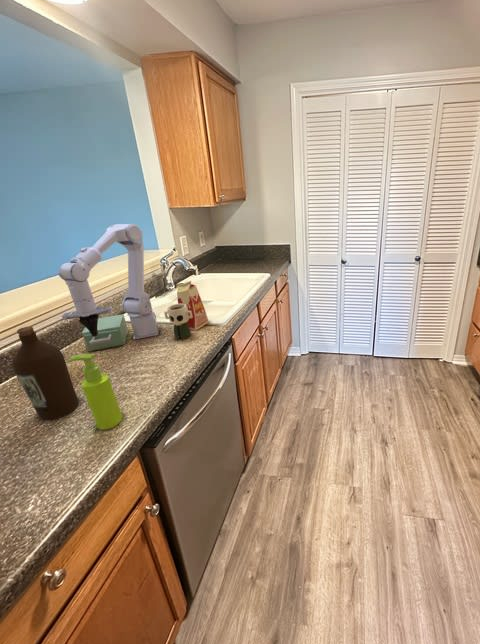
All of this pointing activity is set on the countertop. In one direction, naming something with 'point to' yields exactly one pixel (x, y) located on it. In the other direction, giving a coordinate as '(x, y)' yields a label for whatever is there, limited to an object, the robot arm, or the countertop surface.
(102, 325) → the green box
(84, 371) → the soap dispenser
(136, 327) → the robot arm
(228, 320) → the countertop surface
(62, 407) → the olive oil
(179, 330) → the character mug
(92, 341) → the drawer
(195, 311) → the milk carton
